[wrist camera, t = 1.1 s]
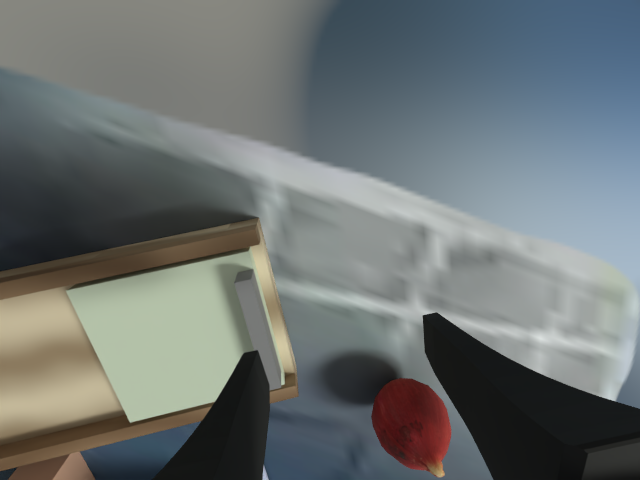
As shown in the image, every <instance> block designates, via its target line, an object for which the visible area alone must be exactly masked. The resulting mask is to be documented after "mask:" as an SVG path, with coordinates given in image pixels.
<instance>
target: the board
mask: <svg viewBox="0 0 640 480" xmlns="http://www.w3.org/2000/svg"><path fill="white" fill-rule="evenodd" d="M246 247H251V250H252V254H253V257H254V261H255V265H256V269H257V272H258V276H259V280H260V283H261V287H262V291H263V295H264V298H265V302H266V306H267V310H268V313H269V317H270V321H271V324H272V328H273V332H274V336H275V339H276V343H277V347H278V350H279V354H280V358H281V362H282V365H283V369H284V373H285V384H284V385H281V388H278V389H274V390H270V403H274V402H278V401H282V400H286V399H290V398H294V397H298V396H299V395H298V382H297V370H296V363H295V359H294V355H293V351H292V347H291V344H290V340H289V336H288V332H287V328H286V324H285V320H284V316H283V312H282V308H281V304H280V300H279V296H278V292H277V288H276V284H275V280H274V276H273V272H272V268H271V264H270V260H269V256H268V252H267V248H266V244H265V240H264V236H263V232H262V228H261V224H260V220H259V218H255V219H250V220H246V221H241V222H236V223H231V224H226V225H222V226H217V227H212V228H207V229H202V230H198V231H193V232H188V233H183V234H178V235H174V236H169V237H164V238H159V239H154V240H149V241H145V242H140V243H135V244H130V245H125V246H121V247H116V248H111V249H106V250H101V251H97V252H92V253H87V254H82V255H77V256H73V257H68V258H63V259H58V260H53V261H49V262H44V263H39V264H34V265H29V266H24V267H20V268H15V269H10V270H5V271H0V471H3V470H7V469H11V468H15V467H19V466H23V465H27V464H31V463H35V462H39V461H43V460H47V459H51V458H55V457H59V456H63V455H67V454H71V453H75V452H79V451H83V450H87V449H91V448H95V447H99V446H103V445H107V444H111V443H115V442H119V441H123V440H127V439H131V438H135V437H139V436H143V435H147V434H151V433H155V432H159V431H163V430H167V429H171V428H175V427H179V426H183V425H187V424H191V423H195V422H199V421H202V420H203V419H204V417H205V416H206V414H207V413H208V411H209V410H210V408H211V407H212V405H213V404H214V402H212V403H208V404H203V405H199V406H195V407H191V408H187V409H183V410H179V411H175V412H171V413H167V414H163V415H159V416H155V417H151V418H147V419H143V420H139V421H135V422H131V423H130V422H129V420H128V418H127V415H126V413H125V411H124V409H123V407H122V405H121V403H120V401H119V399H118V397H117V395H116V393H115V391H114V389H113V387H112V385H111V383H110V381H109V379H108V377H107V374H106V372H105V370H104V368H103V366H102V364H101V362H100V360H99V358H98V356H97V354H96V352H95V350H94V348H93V346H92V344H91V342H90V340H89V338H88V336H87V333H86V331H85V329H84V327H83V325H82V323H81V321H80V319H79V317H78V315H77V313H76V311H75V309H74V307H73V305H72V303H71V301H70V299H69V297H68V295H67V292H66V290H68V289H69V288H71V287H72V286H74V285H75V284H78V283H82V282H87V281H92V280H96V279H101V278H106V277H110V276H115V275H120V274H124V273H129V272H134V271H138V270H143V269H148V268H152V267H157V266H162V265H166V264H171V263H176V262H180V261H185V260H190V259H194V258H199V257H204V256H208V255H213V254H218V253H223V252H227V251H232V250H237V249H241V248H246Z"/></svg>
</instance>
